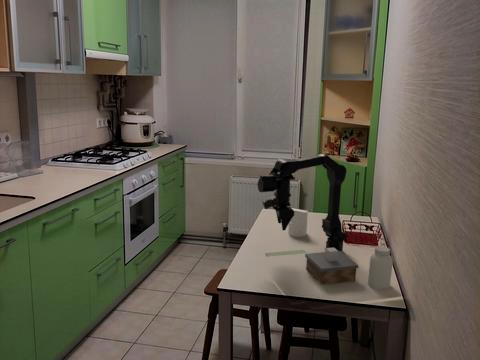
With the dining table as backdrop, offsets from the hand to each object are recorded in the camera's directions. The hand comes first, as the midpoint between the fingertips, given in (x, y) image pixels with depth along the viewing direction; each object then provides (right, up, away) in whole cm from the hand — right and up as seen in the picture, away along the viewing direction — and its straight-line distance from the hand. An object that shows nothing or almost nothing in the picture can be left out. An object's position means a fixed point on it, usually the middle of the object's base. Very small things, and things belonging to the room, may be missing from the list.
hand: (281, 226), depth 195 cm
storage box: (+18, -18, -14) cm, 29 cm away
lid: (+18, -12, -15) cm, 26 cm away
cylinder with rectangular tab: (+11, -7, +35) cm, 38 cm away
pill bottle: (+34, -20, -21) cm, 45 cm away
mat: (+5, -14, +2) cm, 15 cm away
